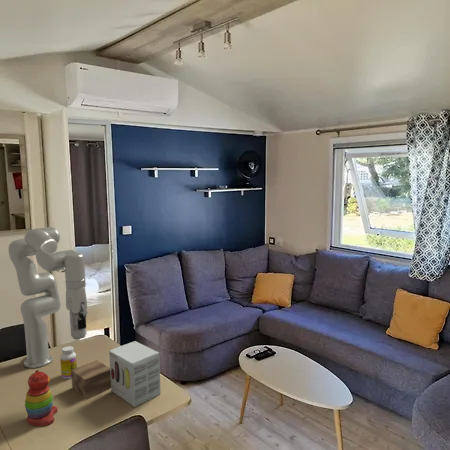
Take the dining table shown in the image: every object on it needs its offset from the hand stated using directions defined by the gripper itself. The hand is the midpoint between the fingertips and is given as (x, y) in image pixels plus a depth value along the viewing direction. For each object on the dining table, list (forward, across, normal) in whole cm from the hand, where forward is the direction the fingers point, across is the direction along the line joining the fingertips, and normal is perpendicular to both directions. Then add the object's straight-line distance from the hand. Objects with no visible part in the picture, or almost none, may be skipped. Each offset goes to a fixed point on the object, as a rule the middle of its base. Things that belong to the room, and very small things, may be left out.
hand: (78, 326), depth 168 cm
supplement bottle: (+28, -15, +1) cm, 32 cm away
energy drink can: (+5, 0, 0) cm, 5 cm away
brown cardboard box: (+28, +2, +4) cm, 28 cm away
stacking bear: (+28, +8, -20) cm, 35 cm away
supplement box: (+28, +18, +14) cm, 36 cm away
